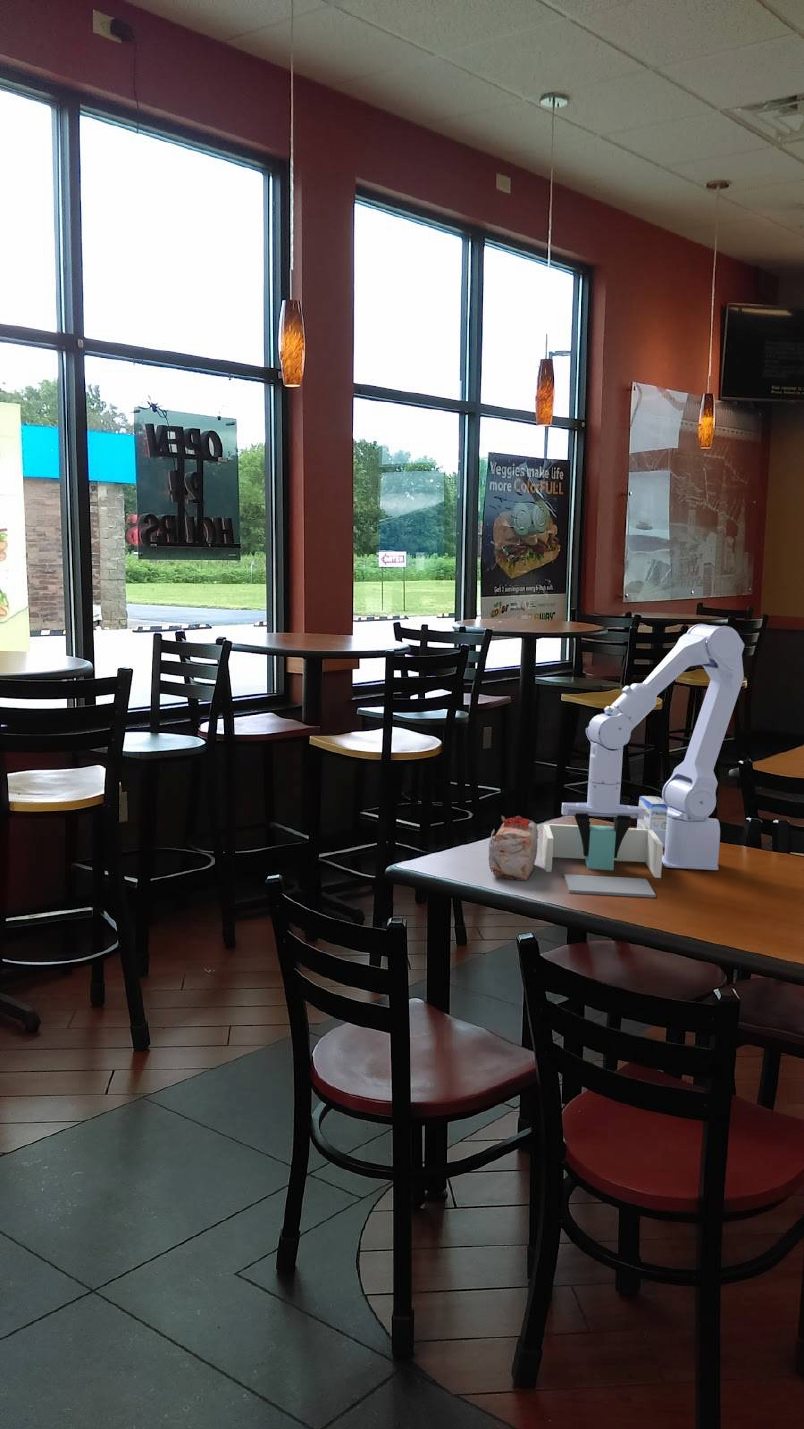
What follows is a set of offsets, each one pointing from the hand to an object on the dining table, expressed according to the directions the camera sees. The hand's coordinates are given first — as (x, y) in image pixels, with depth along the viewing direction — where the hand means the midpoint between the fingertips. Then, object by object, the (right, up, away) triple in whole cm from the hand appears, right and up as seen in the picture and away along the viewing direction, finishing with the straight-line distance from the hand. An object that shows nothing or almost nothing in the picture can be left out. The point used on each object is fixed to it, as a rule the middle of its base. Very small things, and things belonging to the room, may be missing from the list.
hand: (599, 855), depth 204 cm
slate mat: (-1, -4, -14) cm, 14 cm away
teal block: (0, -2, 0) cm, 2 cm away
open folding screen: (0, -2, 0) cm, 2 cm away
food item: (-16, -2, -6) cm, 17 cm away
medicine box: (+14, 0, +21) cm, 26 cm away
